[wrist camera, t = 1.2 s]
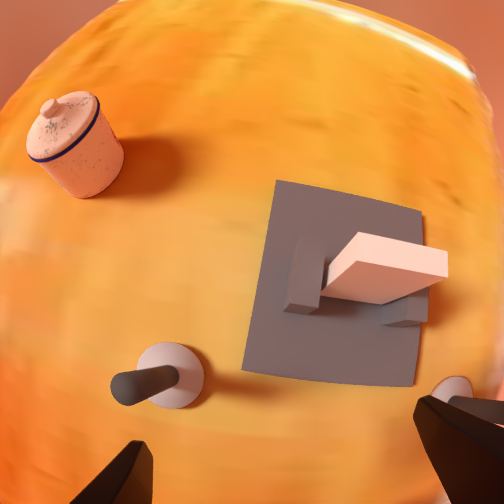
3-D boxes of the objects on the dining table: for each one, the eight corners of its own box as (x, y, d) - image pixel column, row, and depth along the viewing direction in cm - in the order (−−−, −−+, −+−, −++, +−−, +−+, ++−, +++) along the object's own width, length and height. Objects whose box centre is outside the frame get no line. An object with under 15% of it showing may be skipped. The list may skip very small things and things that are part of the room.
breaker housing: (407, 385, 23) (442, 391, 17) (241, 368, 24) (238, 376, 18) (417, 215, 28) (444, 189, 23) (275, 184, 29) (280, 148, 24)
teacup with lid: (140, 144, 31) (105, 72, 20) (102, 209, 29) (45, 148, 18) (74, 133, 33) (37, 76, 22) (40, 188, 30) (-11, 138, 19)
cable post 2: (465, 422, 21) (526, 434, 11) (423, 436, 21) (484, 459, 12) (468, 371, 23) (533, 370, 13) (427, 382, 23) (494, 388, 13)
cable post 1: (204, 409, 23) (176, 444, 13) (140, 402, 23) (85, 425, 13) (204, 344, 25) (175, 343, 15) (141, 339, 25) (83, 333, 15)
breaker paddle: (381, 304, 23) (447, 277, 14) (316, 294, 24) (356, 260, 14) (383, 286, 24) (447, 251, 14) (319, 276, 24) (358, 231, 15)
